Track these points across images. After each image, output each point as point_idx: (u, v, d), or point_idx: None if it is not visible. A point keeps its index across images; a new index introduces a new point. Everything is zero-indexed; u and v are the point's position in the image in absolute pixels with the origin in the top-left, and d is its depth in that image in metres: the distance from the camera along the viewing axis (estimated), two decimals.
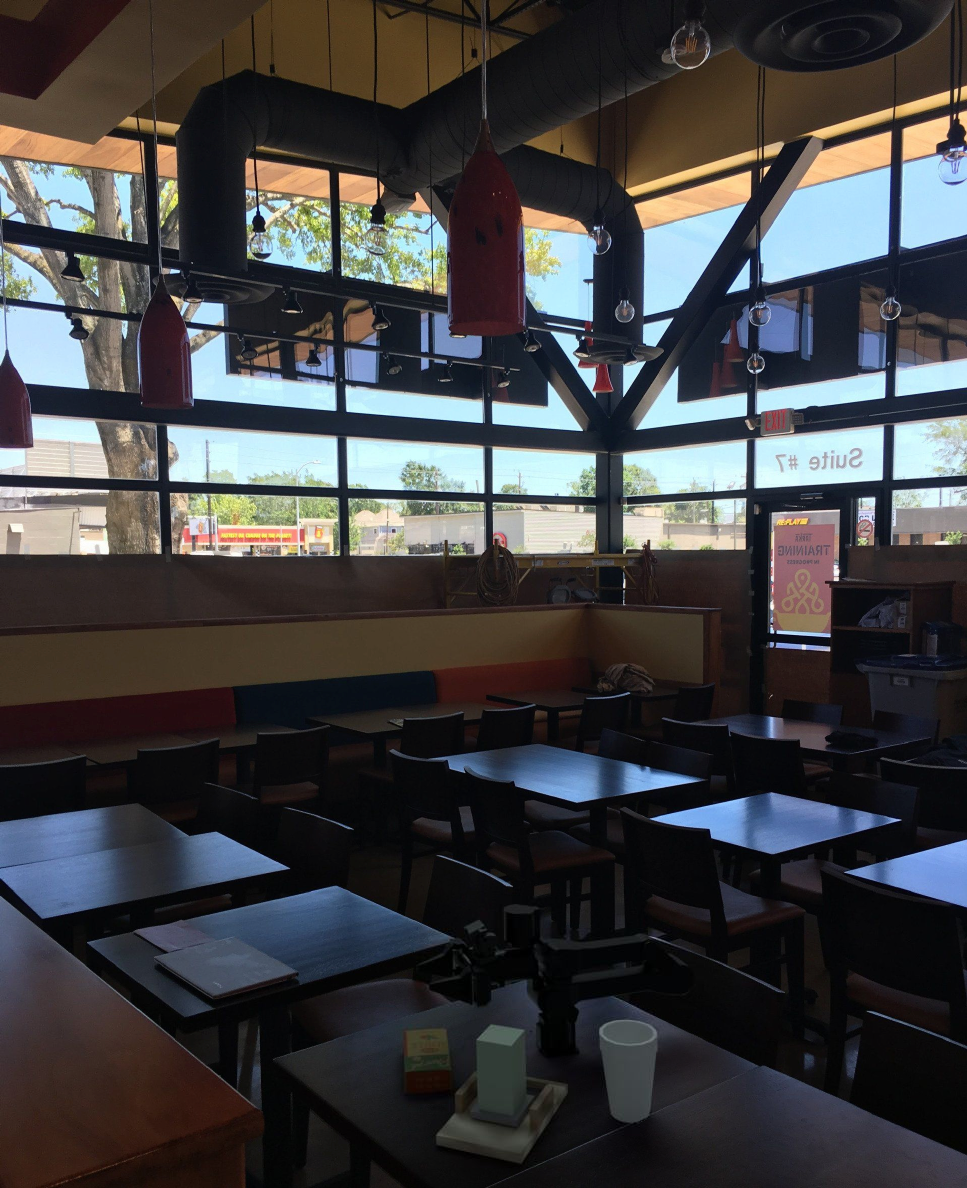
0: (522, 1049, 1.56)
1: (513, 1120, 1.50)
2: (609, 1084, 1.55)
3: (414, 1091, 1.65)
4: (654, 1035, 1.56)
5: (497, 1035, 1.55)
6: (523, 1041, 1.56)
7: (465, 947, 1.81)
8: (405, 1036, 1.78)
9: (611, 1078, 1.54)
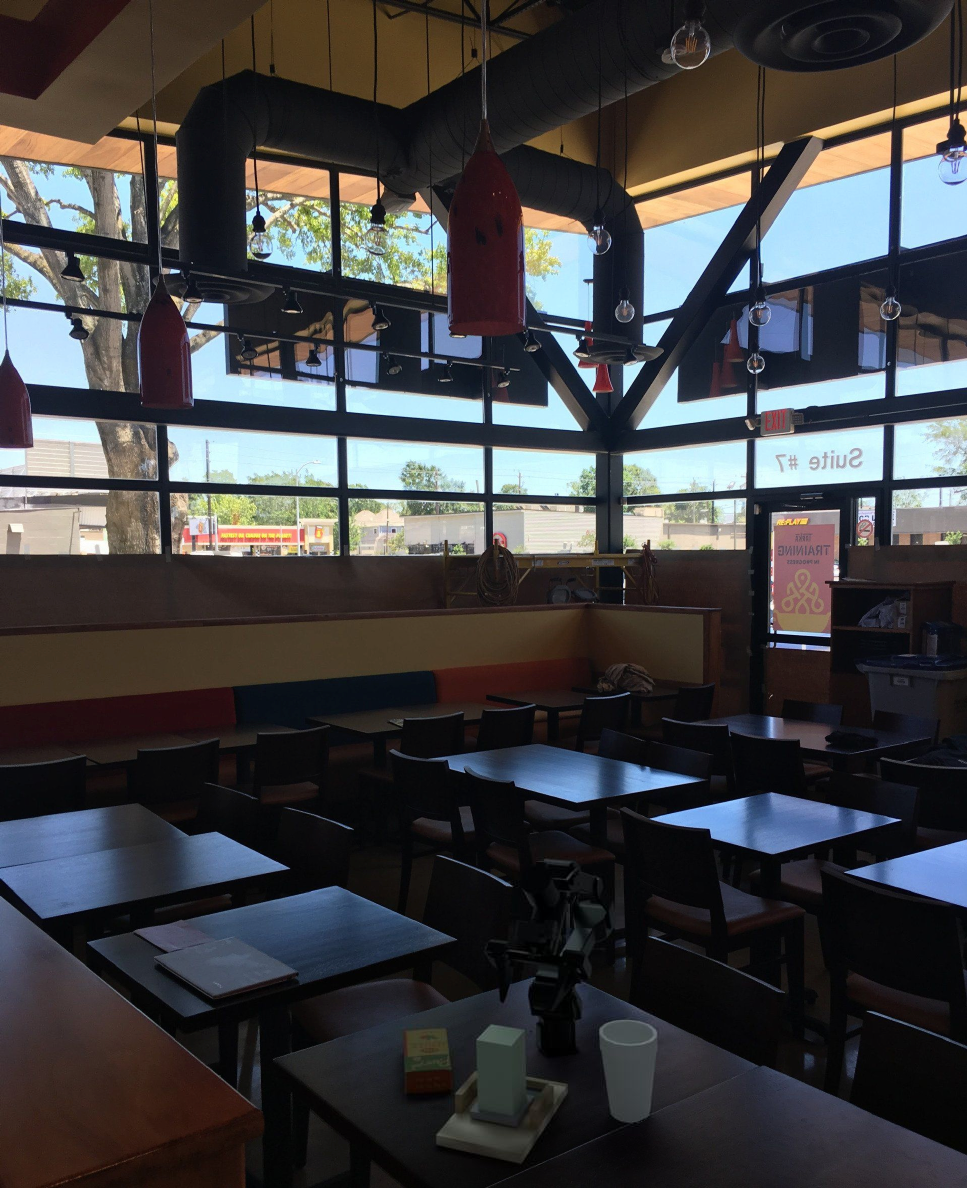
0: (522, 1049, 1.56)
1: (513, 1120, 1.50)
2: (609, 1084, 1.55)
3: (414, 1091, 1.64)
4: (654, 1035, 1.56)
5: (497, 1035, 1.55)
6: (523, 1041, 1.56)
7: (507, 944, 1.73)
8: (405, 1036, 1.78)
9: (611, 1078, 1.54)
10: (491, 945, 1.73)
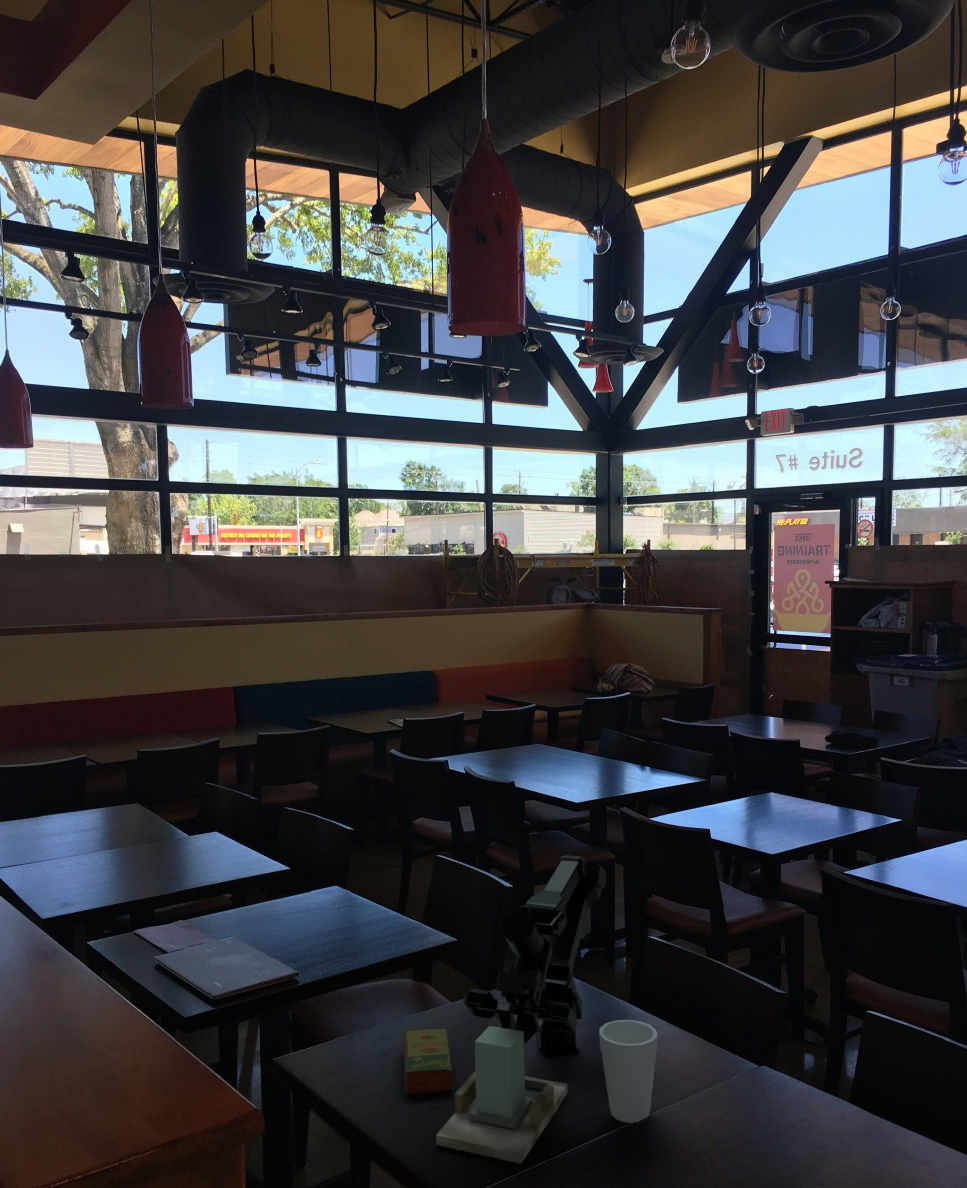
0: (521, 1051, 1.55)
1: (511, 1122, 1.50)
2: (609, 1084, 1.55)
3: (415, 1091, 1.64)
4: (654, 1035, 1.56)
5: (495, 1037, 1.54)
6: (521, 1042, 1.55)
7: (488, 993, 1.65)
8: (405, 1036, 1.78)
9: (611, 1078, 1.54)
10: (471, 995, 1.64)
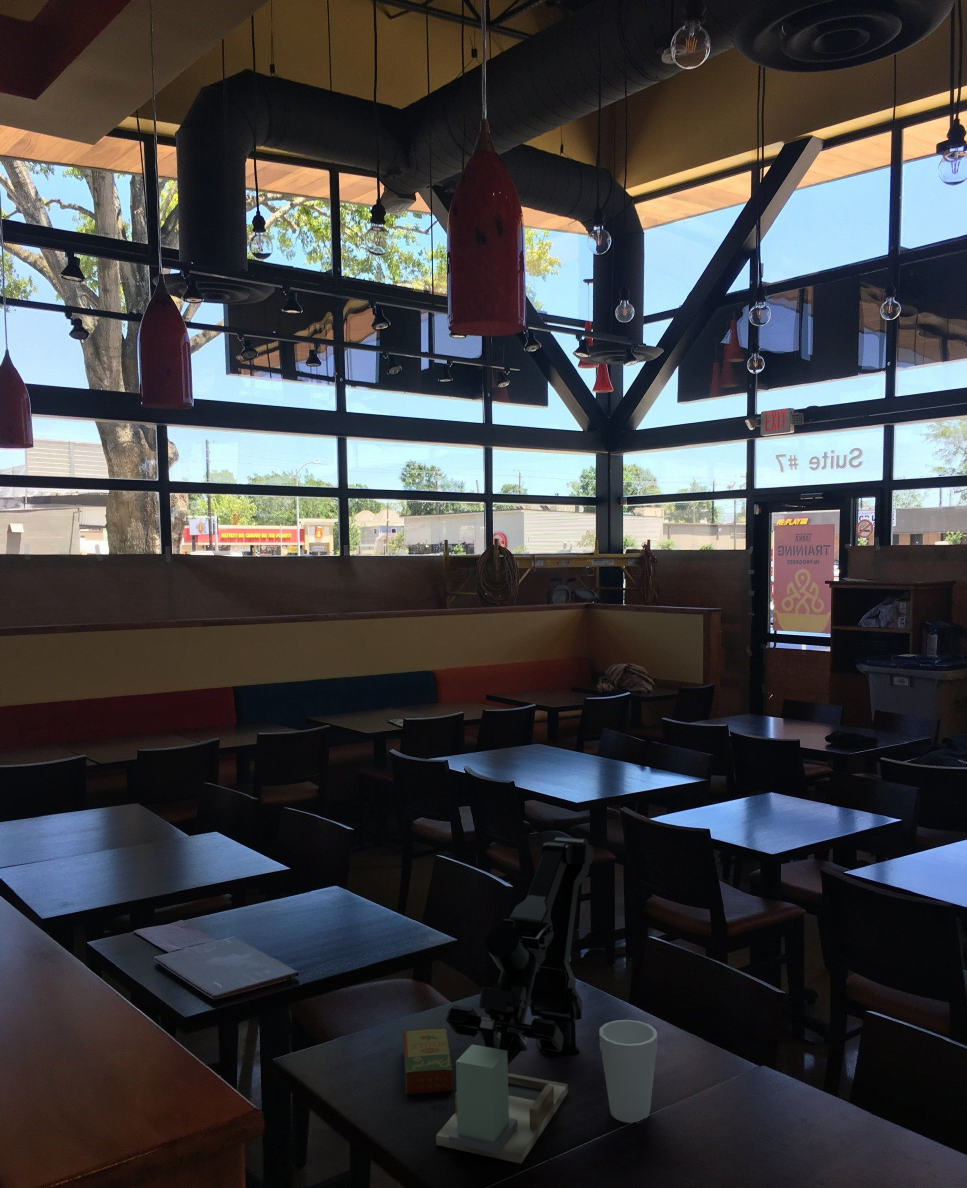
0: (504, 1071, 1.49)
1: (494, 1146, 1.43)
2: (609, 1084, 1.55)
3: (415, 1092, 1.64)
4: (654, 1035, 1.56)
5: (478, 1056, 1.48)
6: (505, 1062, 1.49)
7: (471, 1010, 1.58)
8: (405, 1037, 1.78)
9: (611, 1078, 1.54)
10: (454, 1012, 1.58)
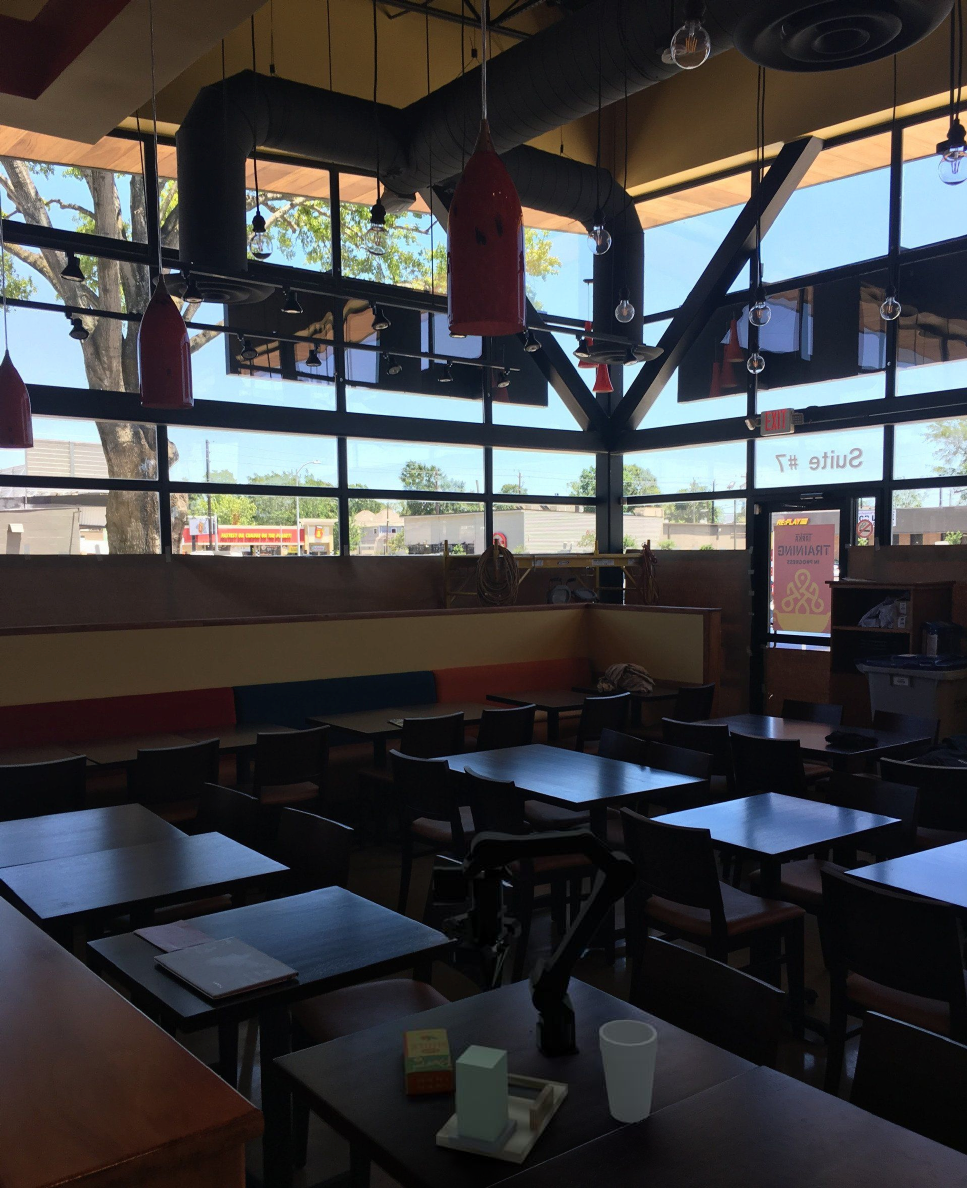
0: (504, 1071, 1.48)
1: (493, 1147, 1.43)
2: (609, 1084, 1.55)
3: (415, 1092, 1.64)
4: (654, 1035, 1.56)
5: (477, 1057, 1.48)
6: (505, 1062, 1.49)
7: None
8: (405, 1037, 1.77)
9: (611, 1078, 1.54)
10: None
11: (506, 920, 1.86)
